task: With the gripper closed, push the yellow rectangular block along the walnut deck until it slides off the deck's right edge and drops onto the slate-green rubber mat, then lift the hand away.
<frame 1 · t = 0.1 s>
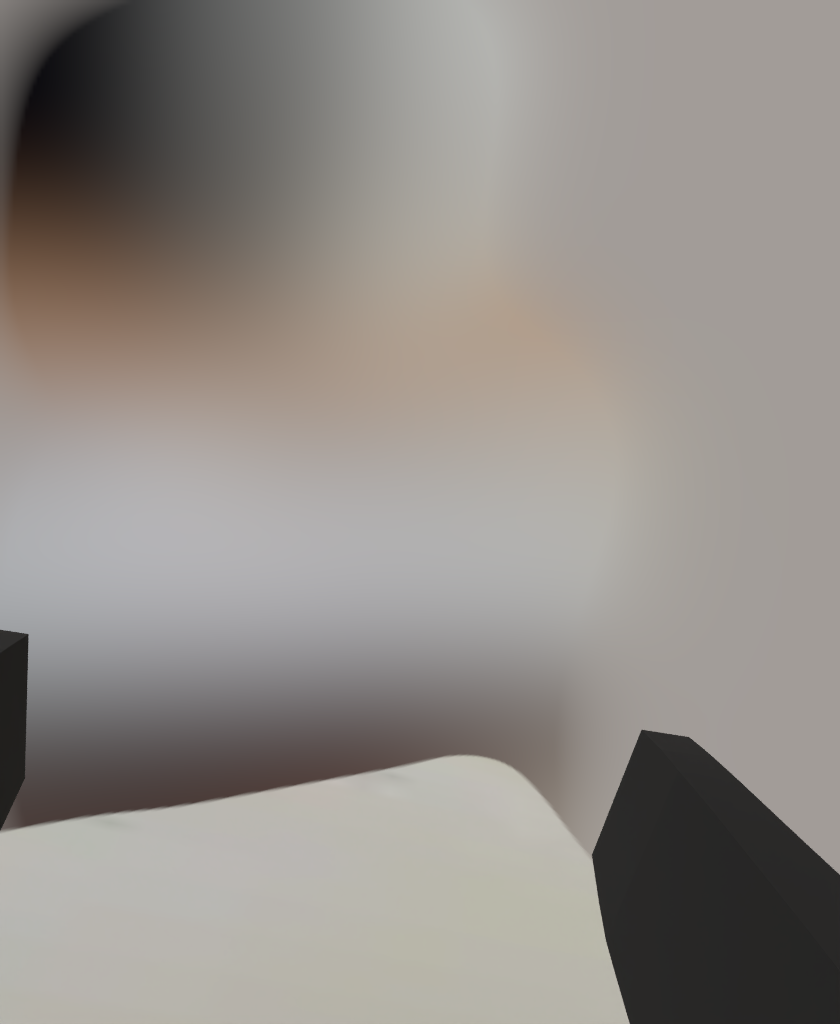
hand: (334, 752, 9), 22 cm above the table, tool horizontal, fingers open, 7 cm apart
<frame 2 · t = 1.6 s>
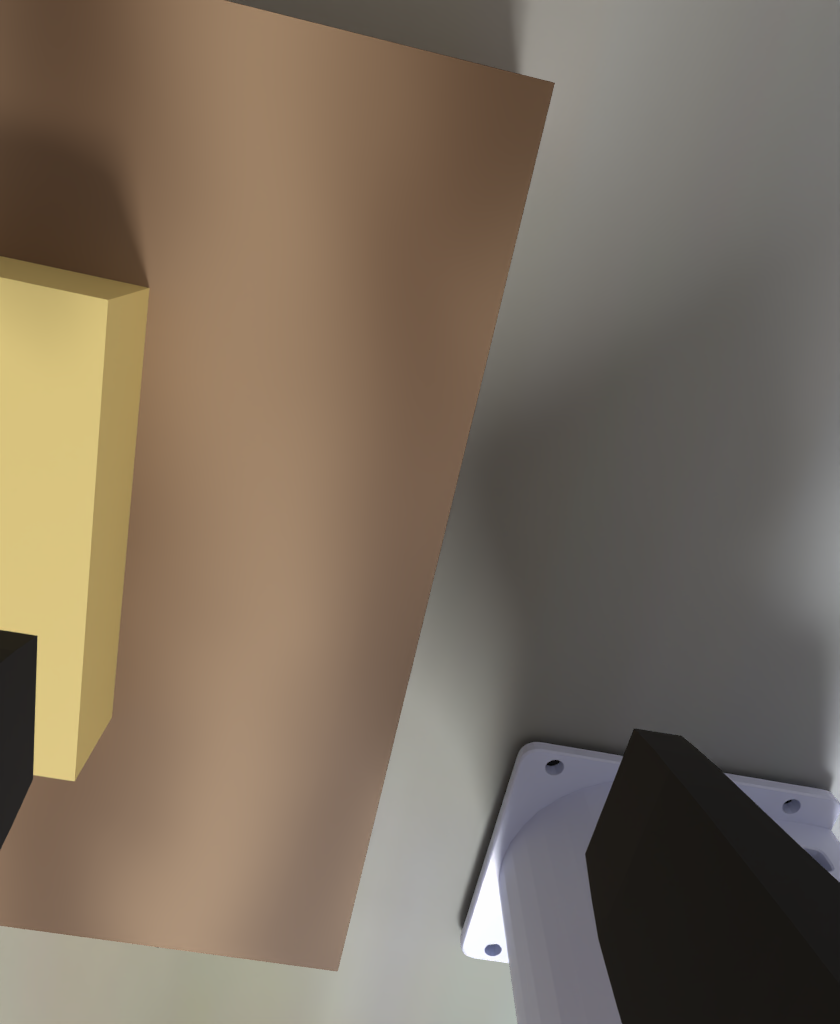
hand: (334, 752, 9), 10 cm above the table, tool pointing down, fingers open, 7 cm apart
deck: (138, 493, 19), on the table
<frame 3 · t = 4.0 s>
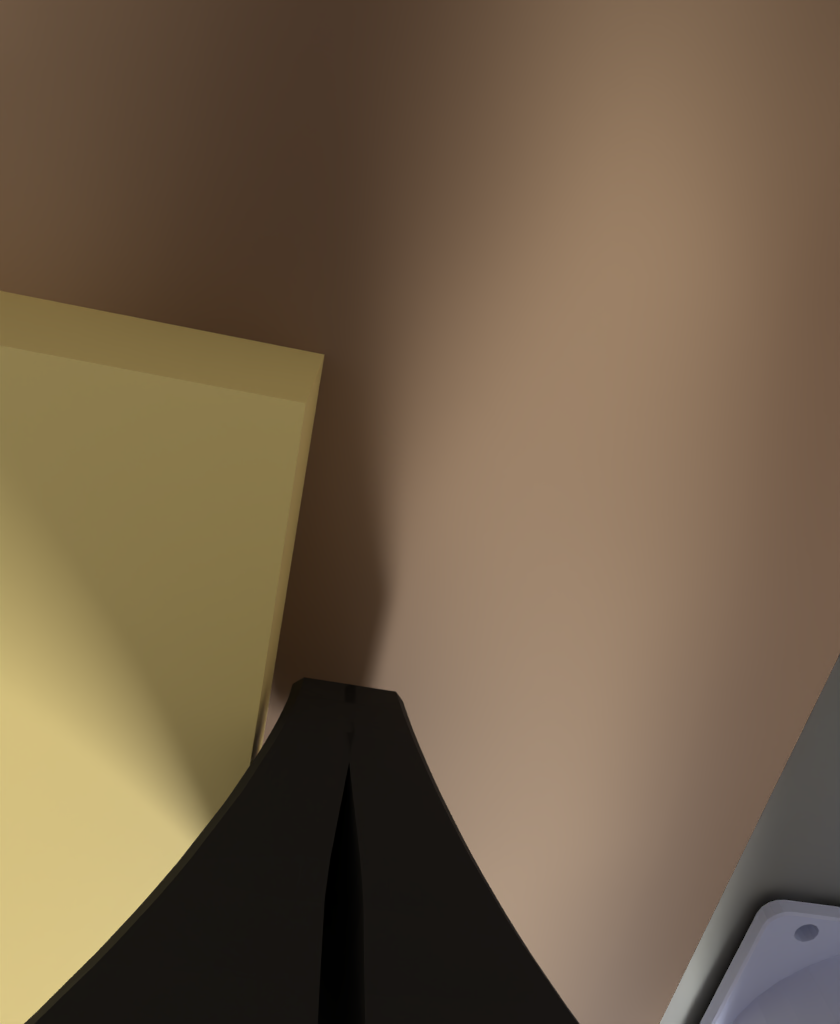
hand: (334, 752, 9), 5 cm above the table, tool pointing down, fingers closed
yellow rectangular block: (24, 666, 10), point 4 cm above the table, touching deck, gripper
deck: (293, 610, 14), on the table
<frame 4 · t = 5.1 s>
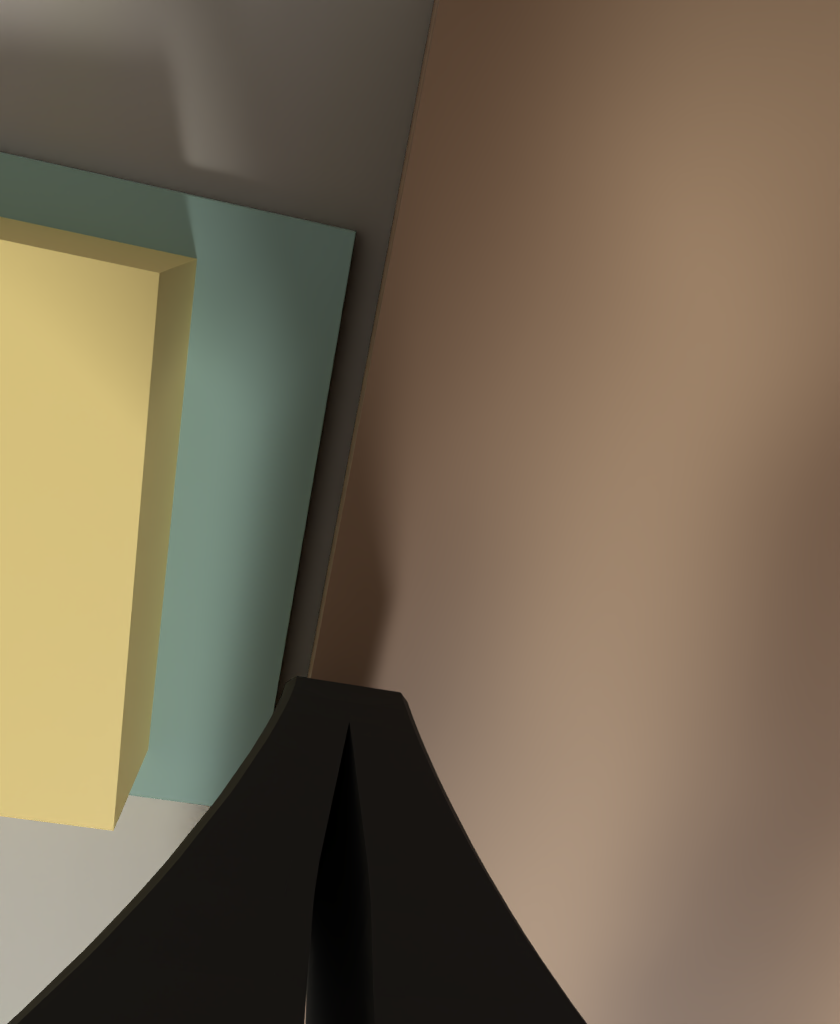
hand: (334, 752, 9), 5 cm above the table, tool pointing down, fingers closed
mat: (32, 513, 13), on the table
deck: (684, 673, 15), on the table
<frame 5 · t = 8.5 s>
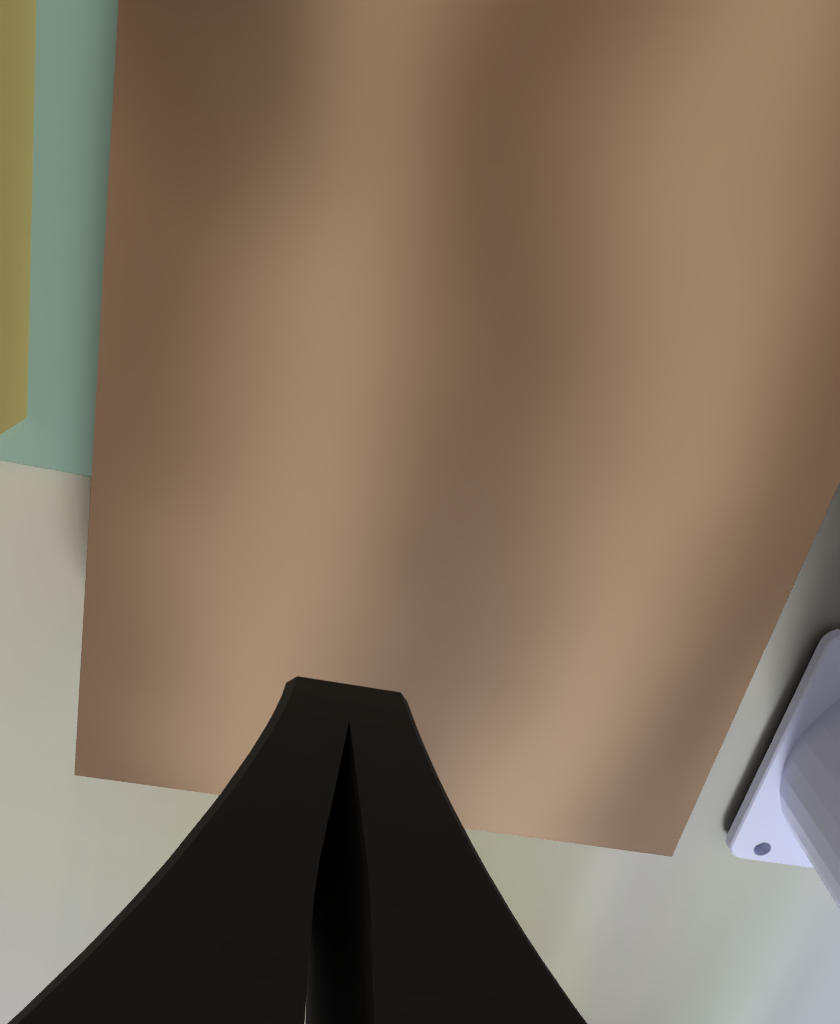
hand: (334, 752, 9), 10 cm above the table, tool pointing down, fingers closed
deck: (471, 357, 18), on the table
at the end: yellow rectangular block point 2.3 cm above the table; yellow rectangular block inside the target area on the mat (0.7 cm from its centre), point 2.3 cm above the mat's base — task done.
